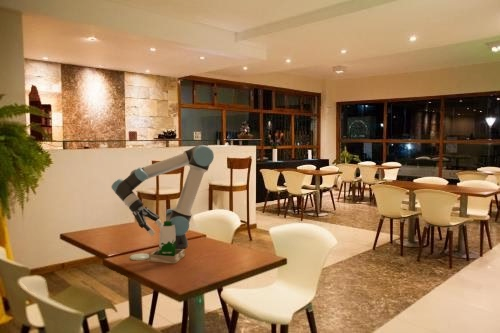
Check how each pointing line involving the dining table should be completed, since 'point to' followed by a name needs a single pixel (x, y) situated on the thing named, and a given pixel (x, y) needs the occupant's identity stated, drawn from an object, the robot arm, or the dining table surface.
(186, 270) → the dining table surface
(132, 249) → the dining table surface
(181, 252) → the dock
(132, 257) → the pale green disc
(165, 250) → the soya milk
